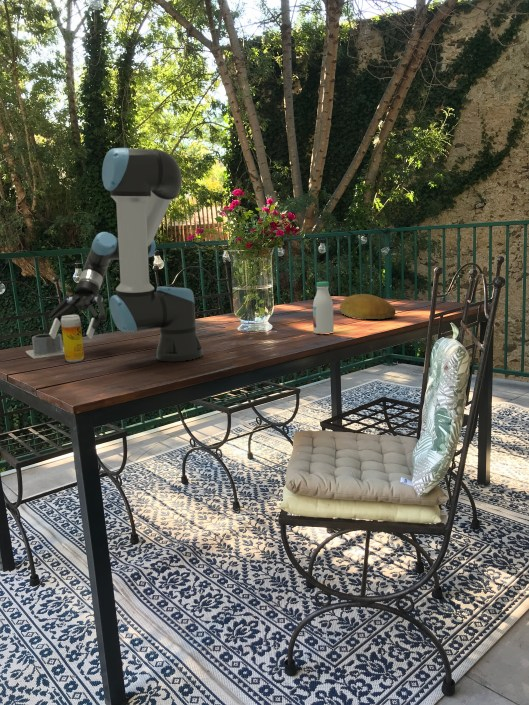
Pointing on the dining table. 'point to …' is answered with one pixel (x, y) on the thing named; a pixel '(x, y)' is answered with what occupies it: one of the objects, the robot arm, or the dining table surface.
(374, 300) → the bread
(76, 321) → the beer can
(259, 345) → the dining table surface
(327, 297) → the milk bottle
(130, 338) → the dining table surface
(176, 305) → the robot arm
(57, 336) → the grey can holder
